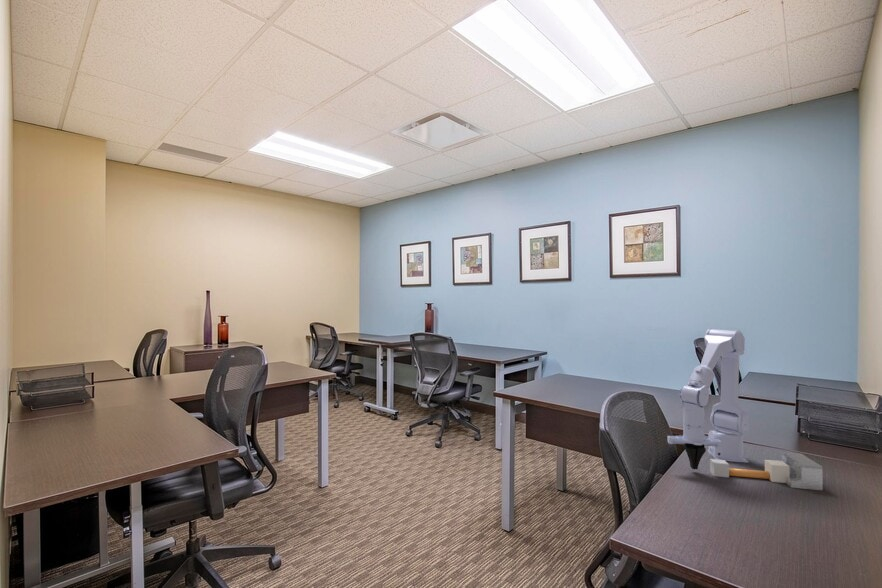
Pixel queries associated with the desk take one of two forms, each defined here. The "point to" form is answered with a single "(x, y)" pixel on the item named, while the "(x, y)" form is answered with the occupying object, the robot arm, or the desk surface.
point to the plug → (773, 470)
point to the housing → (803, 472)
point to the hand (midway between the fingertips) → (693, 468)
